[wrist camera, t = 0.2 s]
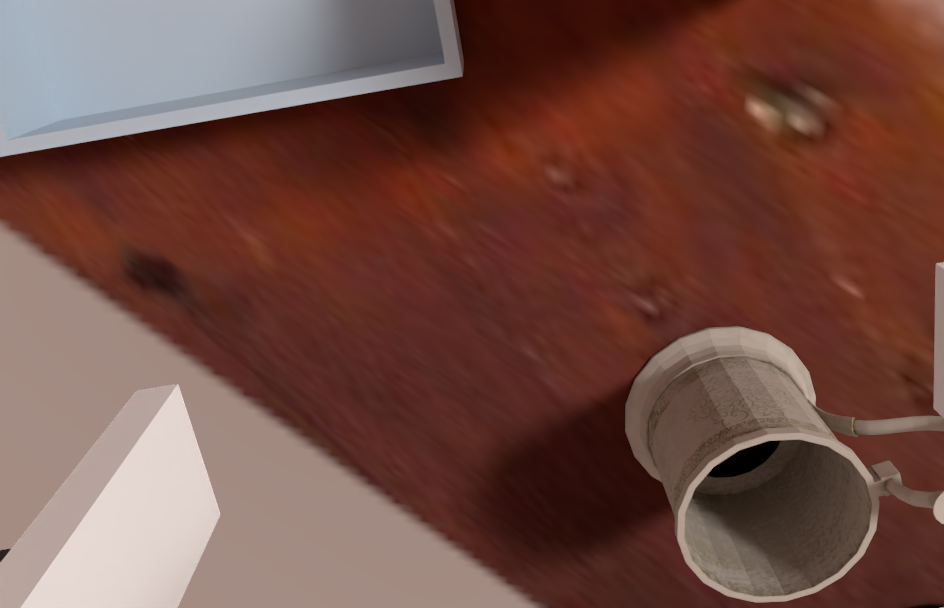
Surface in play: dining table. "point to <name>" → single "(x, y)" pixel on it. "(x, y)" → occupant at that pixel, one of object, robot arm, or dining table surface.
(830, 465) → the mug
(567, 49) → the dining table surface
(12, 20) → the tote
